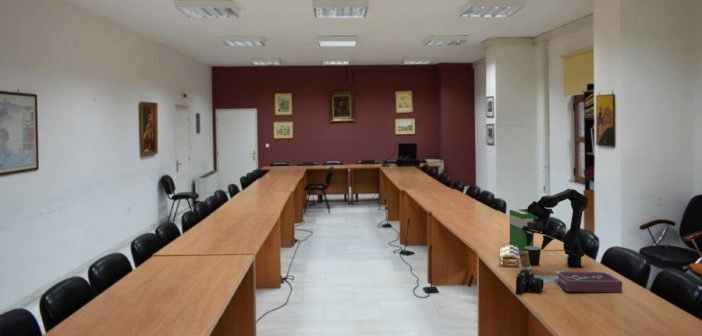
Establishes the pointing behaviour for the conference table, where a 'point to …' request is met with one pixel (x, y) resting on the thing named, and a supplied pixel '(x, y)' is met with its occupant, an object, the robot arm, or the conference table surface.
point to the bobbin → (524, 260)
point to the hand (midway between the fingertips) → (534, 247)
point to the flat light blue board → (547, 278)
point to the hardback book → (519, 228)
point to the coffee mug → (533, 255)
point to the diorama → (509, 253)
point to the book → (588, 281)
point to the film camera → (528, 282)
